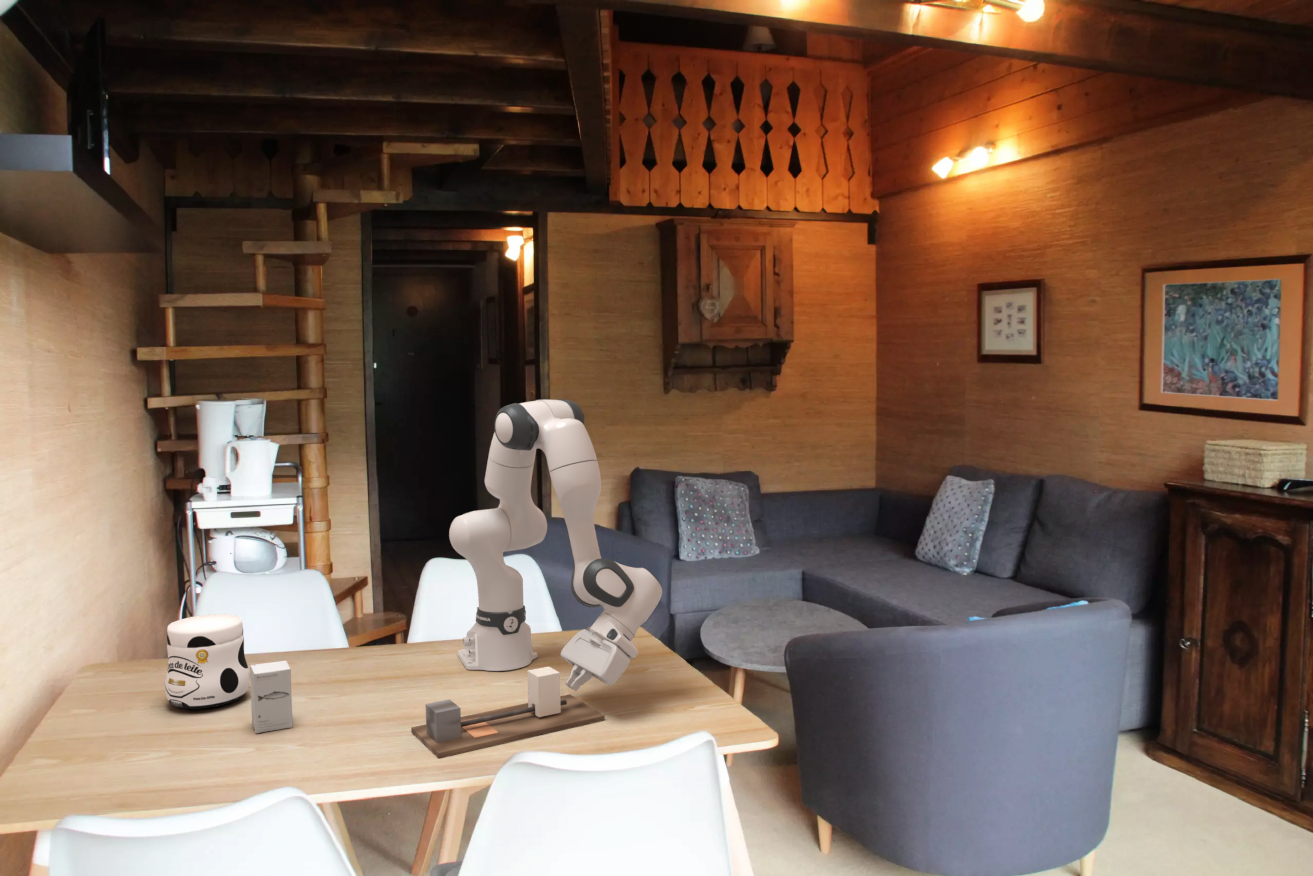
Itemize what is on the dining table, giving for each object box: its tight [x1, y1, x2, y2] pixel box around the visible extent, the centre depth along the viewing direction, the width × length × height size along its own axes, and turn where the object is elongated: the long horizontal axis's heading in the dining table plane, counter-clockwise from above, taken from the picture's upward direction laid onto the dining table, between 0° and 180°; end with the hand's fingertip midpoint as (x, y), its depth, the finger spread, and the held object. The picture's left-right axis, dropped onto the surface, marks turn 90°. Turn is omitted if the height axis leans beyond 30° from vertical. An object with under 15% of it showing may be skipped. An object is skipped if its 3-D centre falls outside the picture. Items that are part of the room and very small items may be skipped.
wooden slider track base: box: [410, 693, 606, 759], centre depth 203 cm, size 16×36×7 cm, turn 122°
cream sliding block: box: [526, 666, 561, 717], centre depth 207 cm, size 5×5×8 cm
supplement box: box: [249, 660, 294, 734], centre depth 205 cm, size 7×7×13 cm
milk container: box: [164, 613, 250, 710], centre depth 220 cm, size 17×17×18 cm
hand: (570, 687), depth 210 cm, fingers closed
